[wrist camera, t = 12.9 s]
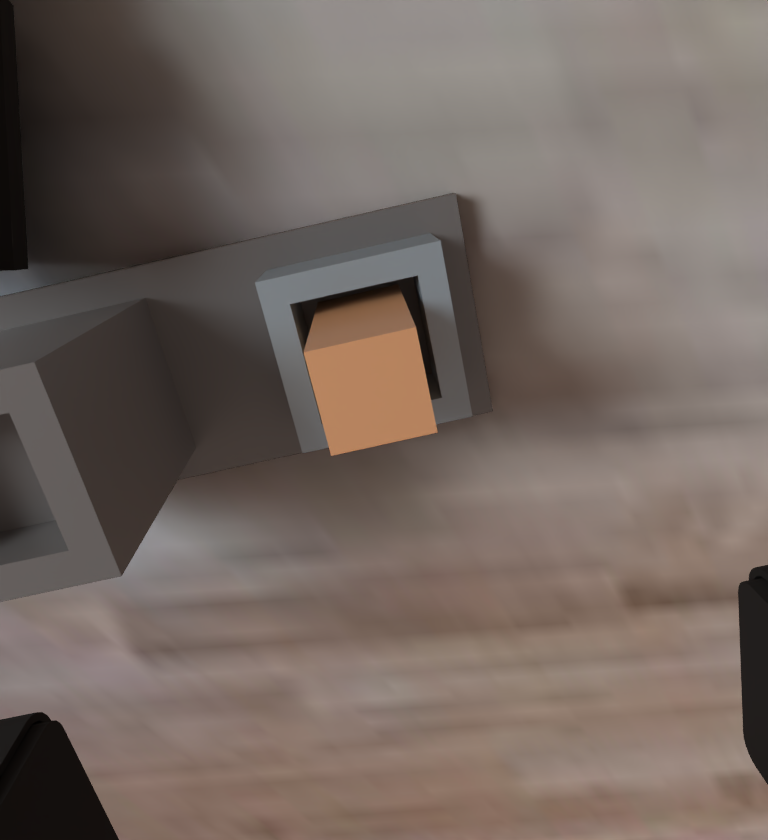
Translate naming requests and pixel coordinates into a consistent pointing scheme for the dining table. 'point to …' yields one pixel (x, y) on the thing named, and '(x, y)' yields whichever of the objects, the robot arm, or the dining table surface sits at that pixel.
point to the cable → (10, 151)
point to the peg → (368, 371)
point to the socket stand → (199, 376)
